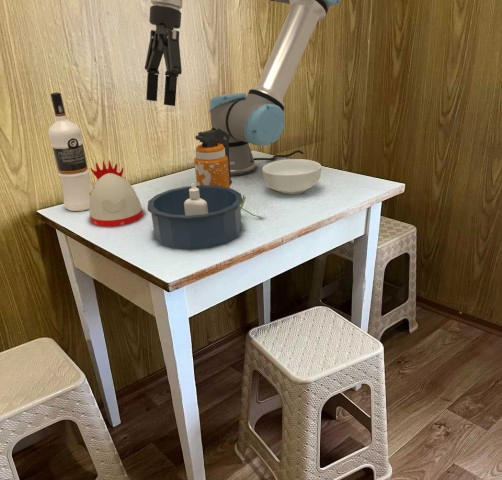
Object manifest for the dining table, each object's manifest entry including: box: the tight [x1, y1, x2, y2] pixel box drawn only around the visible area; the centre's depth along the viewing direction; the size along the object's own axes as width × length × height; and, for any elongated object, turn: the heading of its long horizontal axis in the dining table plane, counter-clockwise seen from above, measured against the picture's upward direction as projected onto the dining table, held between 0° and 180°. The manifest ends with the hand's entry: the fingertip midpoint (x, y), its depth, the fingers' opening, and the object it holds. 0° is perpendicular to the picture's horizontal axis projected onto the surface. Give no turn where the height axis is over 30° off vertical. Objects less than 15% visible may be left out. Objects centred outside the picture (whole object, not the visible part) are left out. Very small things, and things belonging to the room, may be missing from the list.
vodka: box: [47, 92, 93, 212], centre depth 141 cm, size 9×9×30 cm
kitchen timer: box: [88, 159, 144, 228], centre depth 136 cm, size 14×14×15 cm
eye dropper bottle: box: [184, 182, 208, 216], centre depth 126 cm, size 4×6×12 cm
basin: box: [147, 185, 243, 250], centre depth 127 cm, size 23×23×8 cm
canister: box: [193, 127, 233, 188], centre depth 140 cm, size 9×11×20 cm
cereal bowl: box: [261, 158, 322, 195], centre depth 151 cm, size 17×17×7 cm
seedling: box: [240, 194, 262, 219], centre depth 134 cm, size 7×8×7 cm
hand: (160, 103), depth 134 cm, fingers open, 13 cm apart
